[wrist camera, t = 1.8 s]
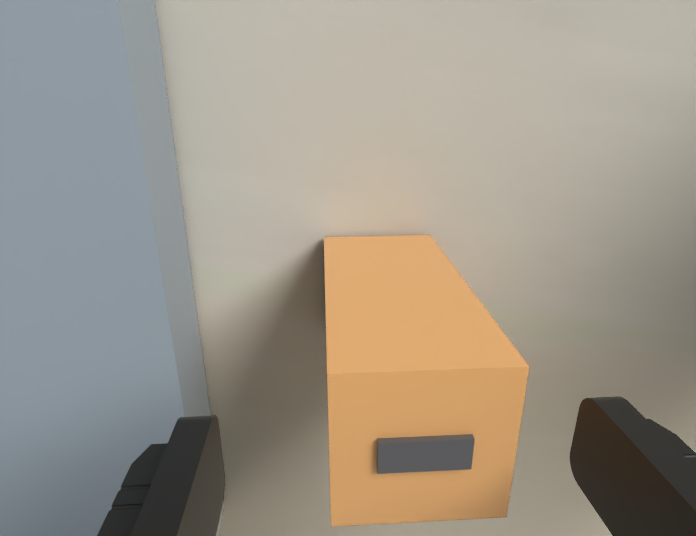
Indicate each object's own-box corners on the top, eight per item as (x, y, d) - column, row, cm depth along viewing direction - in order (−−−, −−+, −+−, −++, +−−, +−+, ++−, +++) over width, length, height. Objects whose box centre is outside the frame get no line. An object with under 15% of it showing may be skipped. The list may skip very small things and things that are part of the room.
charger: (429, 234, 18) (532, 370, 9) (424, 328, 19) (508, 522, 11) (323, 237, 17) (327, 378, 9) (326, 332, 19) (331, 532, 10)
